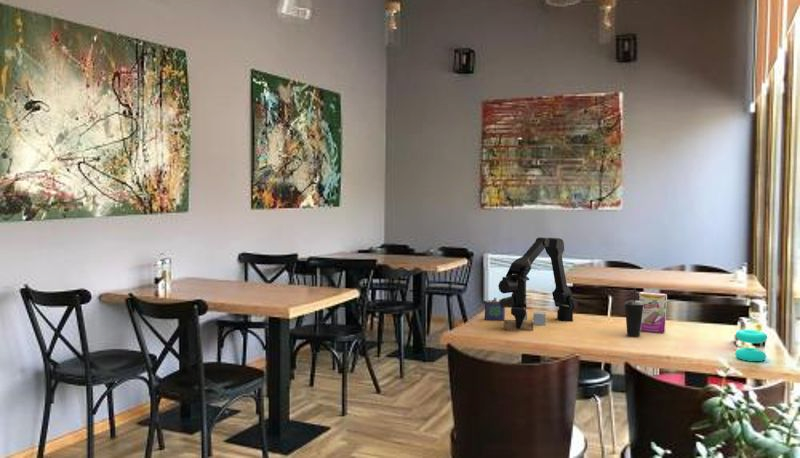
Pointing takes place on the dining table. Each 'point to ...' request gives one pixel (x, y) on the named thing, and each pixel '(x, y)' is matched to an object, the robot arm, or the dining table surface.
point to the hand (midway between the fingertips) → (518, 327)
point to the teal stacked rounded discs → (751, 337)
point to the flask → (494, 311)
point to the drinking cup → (633, 316)
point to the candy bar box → (653, 312)
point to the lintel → (525, 326)
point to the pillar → (539, 318)
